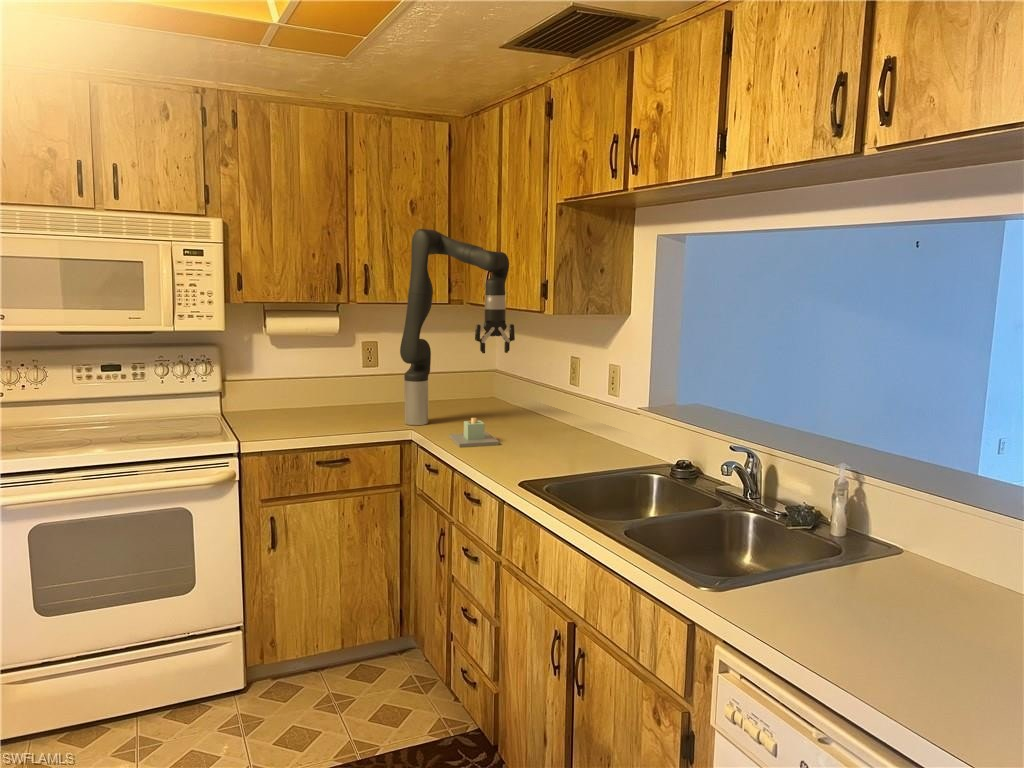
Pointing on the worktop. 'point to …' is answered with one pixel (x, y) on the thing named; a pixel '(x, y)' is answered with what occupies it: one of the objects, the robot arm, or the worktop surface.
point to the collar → (474, 430)
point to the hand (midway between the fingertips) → (494, 352)
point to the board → (463, 442)
